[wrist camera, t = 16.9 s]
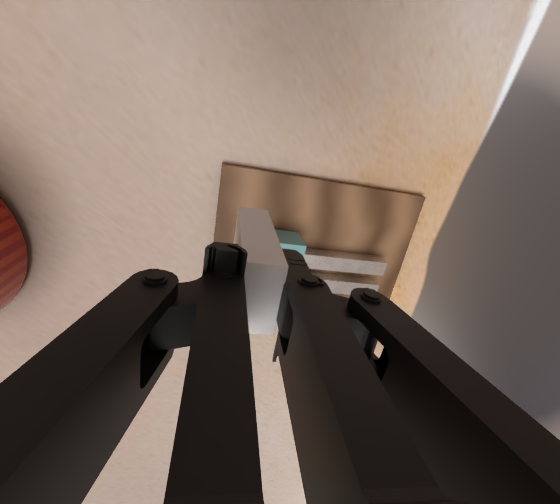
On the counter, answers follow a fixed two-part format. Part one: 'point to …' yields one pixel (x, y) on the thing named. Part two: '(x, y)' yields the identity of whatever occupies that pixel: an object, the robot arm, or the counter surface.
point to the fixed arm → (346, 282)
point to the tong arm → (345, 262)
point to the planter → (11, 256)
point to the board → (324, 215)
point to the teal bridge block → (291, 241)
